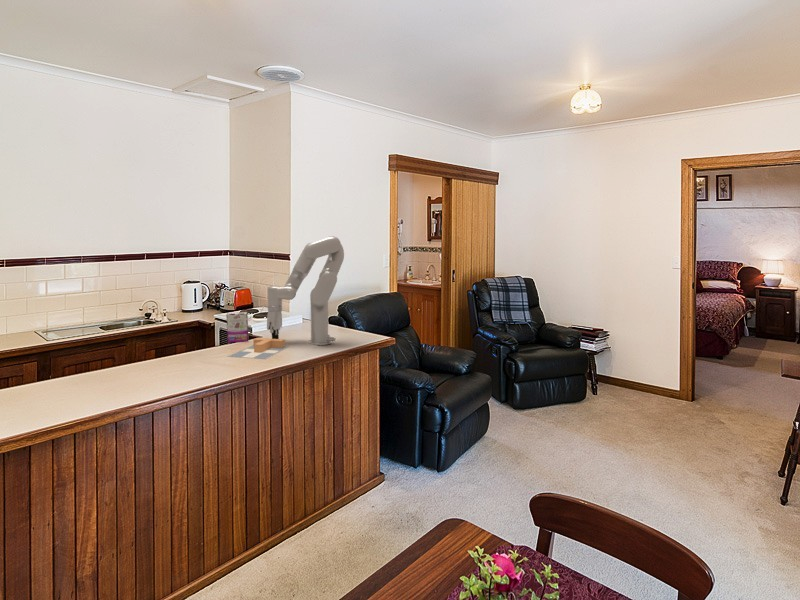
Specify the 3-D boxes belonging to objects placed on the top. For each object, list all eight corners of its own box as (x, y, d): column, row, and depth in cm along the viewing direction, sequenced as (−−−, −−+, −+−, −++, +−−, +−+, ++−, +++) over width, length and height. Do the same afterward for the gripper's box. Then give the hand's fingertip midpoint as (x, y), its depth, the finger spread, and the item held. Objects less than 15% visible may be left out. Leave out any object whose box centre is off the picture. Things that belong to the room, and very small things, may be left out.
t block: (284, 346, 276) (284, 339, 276) (272, 353, 262) (272, 345, 261) (257, 345, 280) (256, 337, 279) (243, 351, 265) (243, 343, 264)
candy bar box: (248, 340, 293) (247, 311, 291) (248, 342, 288) (247, 313, 286) (227, 341, 290) (226, 312, 288) (227, 343, 285) (226, 313, 283)
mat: (290, 346, 279) (290, 345, 279) (265, 360, 250) (265, 359, 250) (256, 344, 283) (256, 343, 283) (227, 357, 254) (227, 356, 254)
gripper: (274, 306, 289) (274, 338, 292) (262, 310, 275) (262, 344, 277) (287, 307, 288) (287, 339, 290) (275, 310, 273) (275, 345, 276)
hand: (275, 341), depth 284 cm, fingers closed
